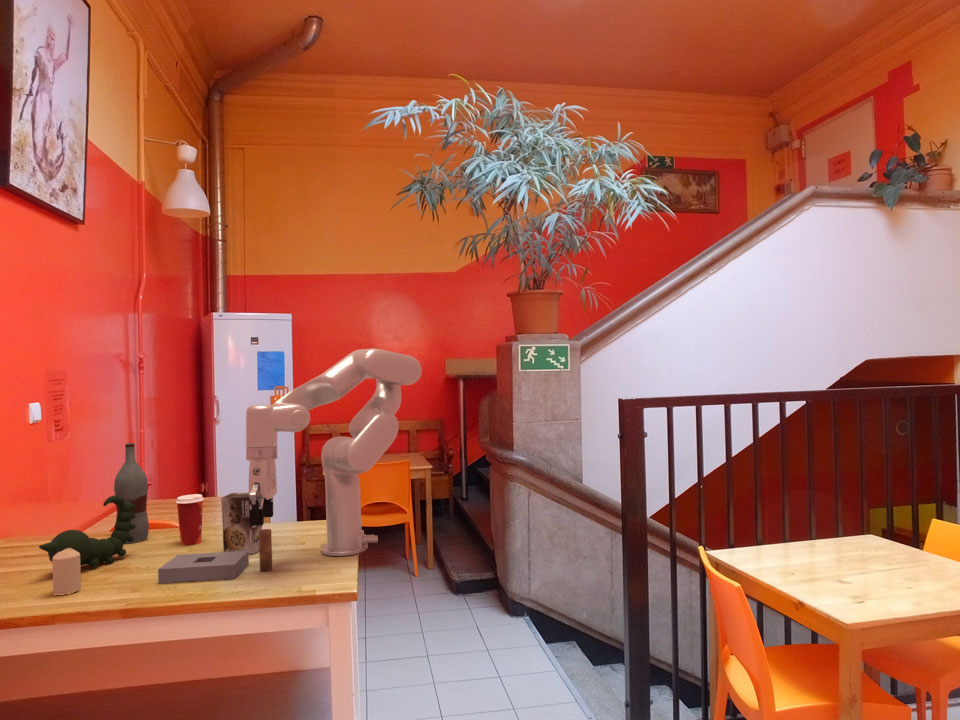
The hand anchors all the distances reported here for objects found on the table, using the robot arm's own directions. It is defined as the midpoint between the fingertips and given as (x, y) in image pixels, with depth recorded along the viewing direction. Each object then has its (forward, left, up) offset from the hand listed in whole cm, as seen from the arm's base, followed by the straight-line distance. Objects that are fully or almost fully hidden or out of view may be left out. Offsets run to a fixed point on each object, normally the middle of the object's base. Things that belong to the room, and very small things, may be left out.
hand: (261, 521), depth 162 cm
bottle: (+49, -39, -13) cm, 65 cm away
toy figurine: (+48, -12, -13) cm, 52 cm away
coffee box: (+10, -19, -13) cm, 25 cm away
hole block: (+14, 0, -13) cm, 19 cm away
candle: (+43, +8, -13) cm, 46 cm away
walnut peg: (-1, 0, -13) cm, 13 cm away
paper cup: (+29, -32, -13) cm, 46 cm away
